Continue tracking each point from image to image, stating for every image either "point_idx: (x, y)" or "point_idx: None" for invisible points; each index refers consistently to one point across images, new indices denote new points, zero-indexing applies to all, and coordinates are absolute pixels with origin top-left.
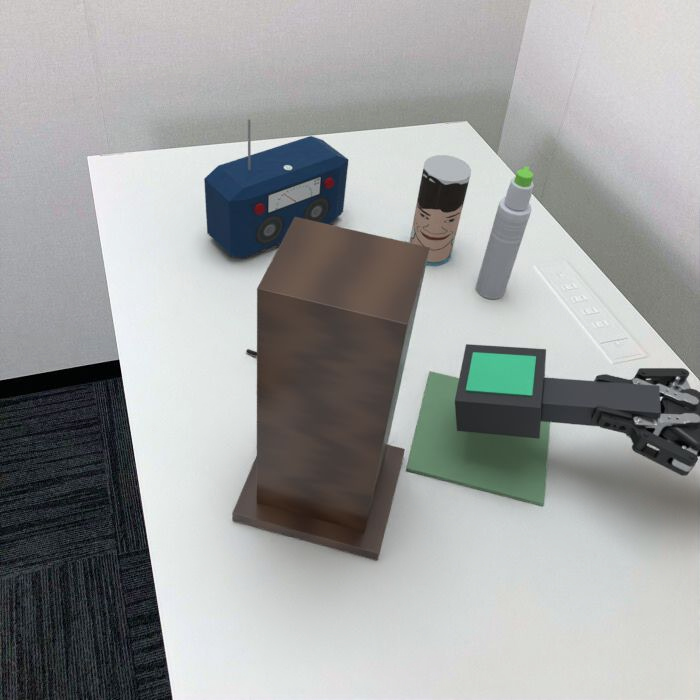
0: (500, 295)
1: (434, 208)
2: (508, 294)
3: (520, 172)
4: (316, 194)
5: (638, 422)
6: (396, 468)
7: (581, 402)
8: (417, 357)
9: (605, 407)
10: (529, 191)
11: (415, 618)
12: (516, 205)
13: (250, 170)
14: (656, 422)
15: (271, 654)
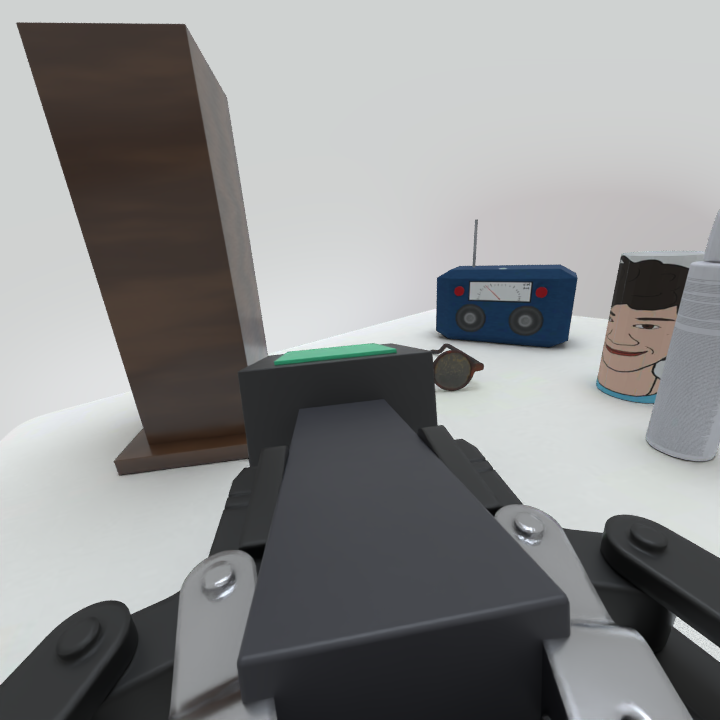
0: (683, 453)
1: (619, 303)
2: (714, 467)
3: None
4: (525, 300)
5: (197, 576)
6: (245, 441)
7: (309, 434)
8: (448, 425)
9: (280, 455)
10: None
11: (8, 530)
12: (718, 249)
13: (473, 267)
14: (194, 704)
15: (30, 445)
